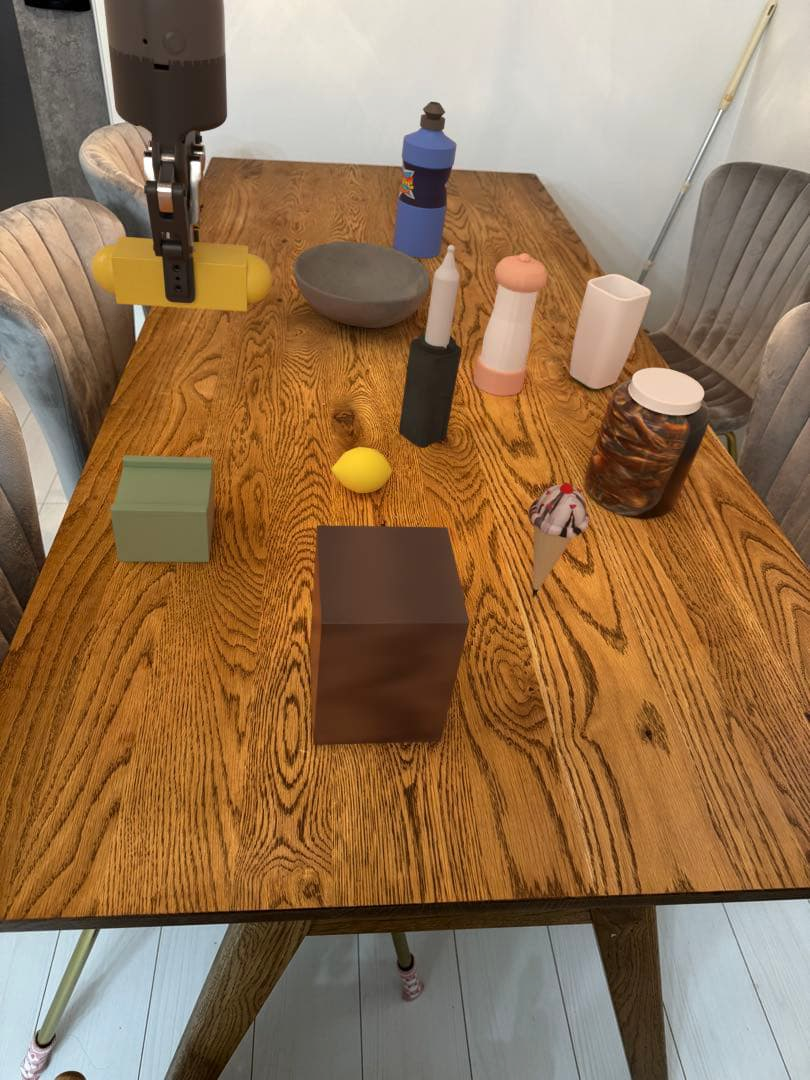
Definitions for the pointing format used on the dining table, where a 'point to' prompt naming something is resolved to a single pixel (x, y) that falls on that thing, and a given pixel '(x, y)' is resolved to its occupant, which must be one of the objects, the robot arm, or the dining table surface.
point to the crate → (384, 634)
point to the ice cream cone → (555, 527)
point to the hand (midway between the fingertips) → (183, 286)
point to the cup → (607, 329)
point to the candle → (433, 364)
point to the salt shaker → (510, 326)
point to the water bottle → (424, 186)
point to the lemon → (362, 470)
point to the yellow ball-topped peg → (218, 271)
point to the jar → (647, 443)
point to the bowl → (361, 283)
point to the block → (164, 509)
